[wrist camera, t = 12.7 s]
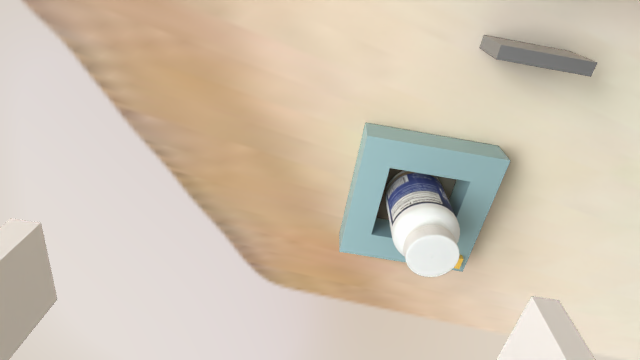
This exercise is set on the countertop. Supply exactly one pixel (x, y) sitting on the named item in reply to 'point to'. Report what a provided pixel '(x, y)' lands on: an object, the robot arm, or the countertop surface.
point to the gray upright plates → (537, 55)
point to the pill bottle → (422, 223)
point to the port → (427, 158)
